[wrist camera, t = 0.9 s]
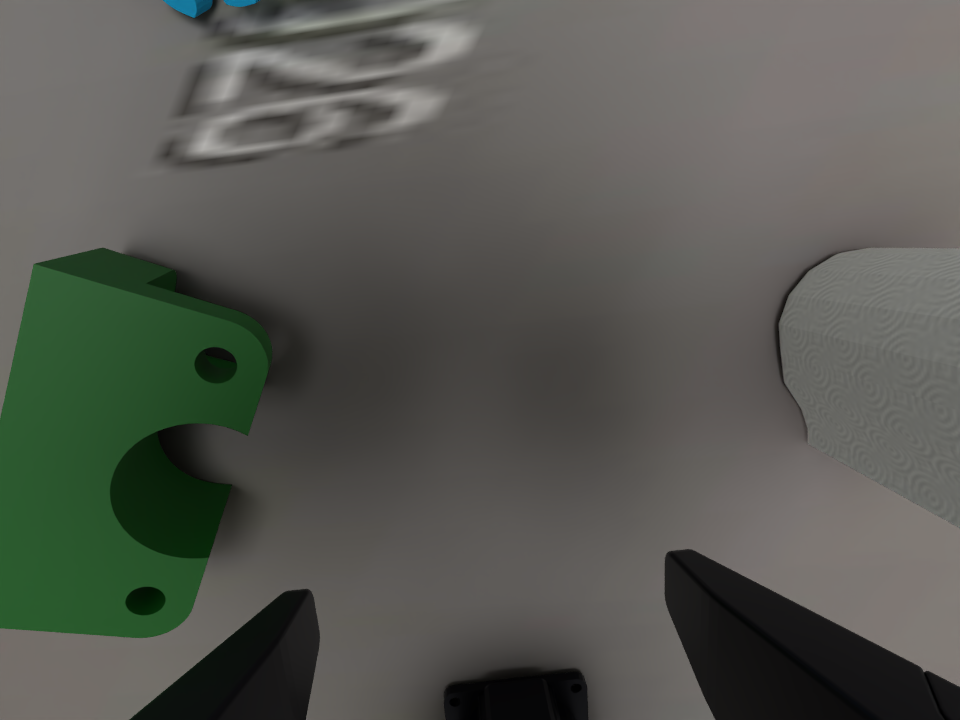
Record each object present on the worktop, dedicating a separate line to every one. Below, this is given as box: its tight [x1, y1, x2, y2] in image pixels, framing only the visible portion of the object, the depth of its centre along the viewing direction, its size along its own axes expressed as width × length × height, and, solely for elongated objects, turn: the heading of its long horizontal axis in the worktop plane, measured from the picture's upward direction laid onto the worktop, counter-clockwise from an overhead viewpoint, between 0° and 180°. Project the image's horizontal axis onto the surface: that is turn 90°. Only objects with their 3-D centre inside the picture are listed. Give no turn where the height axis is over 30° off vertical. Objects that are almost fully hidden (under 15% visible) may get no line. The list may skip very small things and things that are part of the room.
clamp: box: [0, 248, 272, 638], centre depth 17 cm, size 12×6×9 cm, turn 153°
